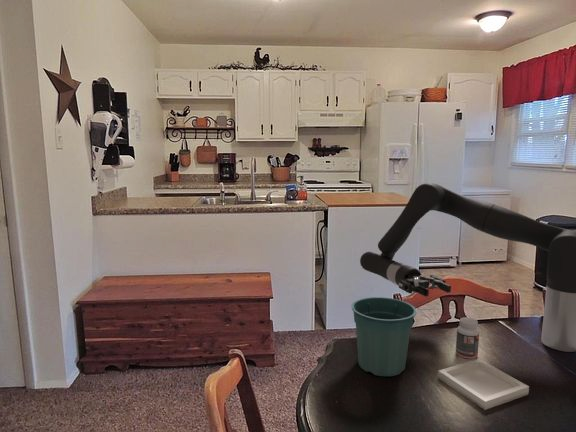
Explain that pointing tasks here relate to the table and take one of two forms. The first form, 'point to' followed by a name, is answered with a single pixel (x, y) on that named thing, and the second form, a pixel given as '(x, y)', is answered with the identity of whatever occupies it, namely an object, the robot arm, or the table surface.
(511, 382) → the tray
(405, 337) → the flower pot
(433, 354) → the table surface
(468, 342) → the pill bottle
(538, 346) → the table surface
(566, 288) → the robot arm
